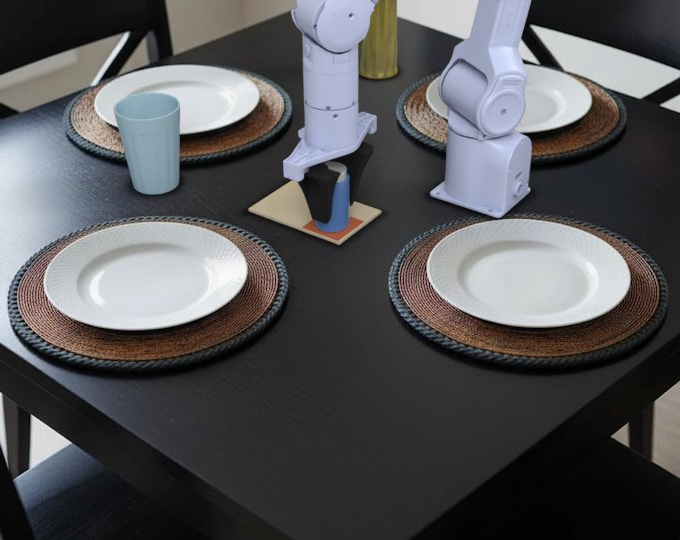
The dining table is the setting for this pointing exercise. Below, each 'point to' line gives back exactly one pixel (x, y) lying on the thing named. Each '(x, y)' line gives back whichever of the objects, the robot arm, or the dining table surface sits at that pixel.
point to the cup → (150, 140)
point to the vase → (380, 43)
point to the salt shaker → (338, 201)
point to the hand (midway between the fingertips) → (332, 211)
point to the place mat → (308, 213)
